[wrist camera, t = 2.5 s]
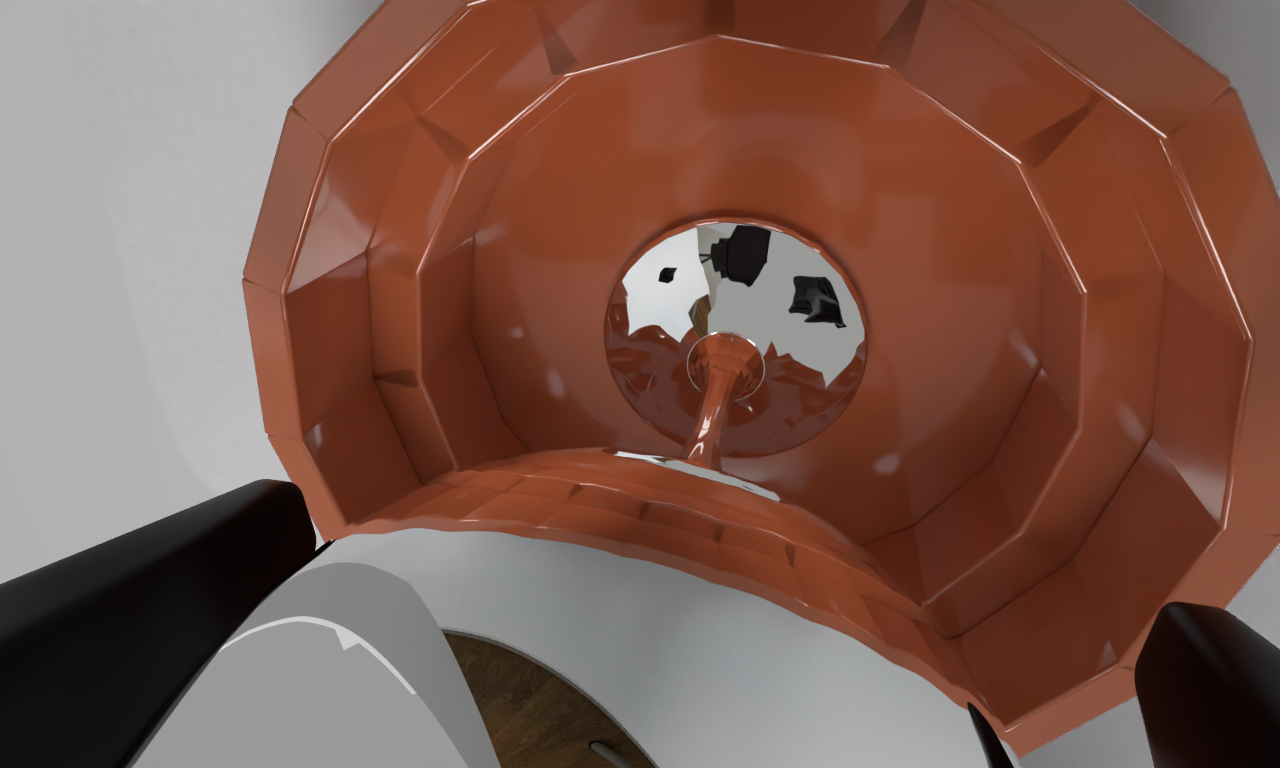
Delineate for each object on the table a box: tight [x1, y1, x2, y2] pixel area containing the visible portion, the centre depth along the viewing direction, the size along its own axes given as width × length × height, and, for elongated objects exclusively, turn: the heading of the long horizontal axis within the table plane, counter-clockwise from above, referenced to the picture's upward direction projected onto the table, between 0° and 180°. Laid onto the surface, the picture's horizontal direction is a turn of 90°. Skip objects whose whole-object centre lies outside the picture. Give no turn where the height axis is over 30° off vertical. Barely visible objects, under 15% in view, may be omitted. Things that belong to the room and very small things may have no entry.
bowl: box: [242, 0, 1280, 759], centre depth 10 cm, size 12×12×4 cm
